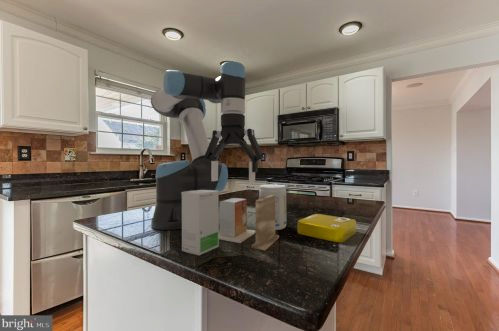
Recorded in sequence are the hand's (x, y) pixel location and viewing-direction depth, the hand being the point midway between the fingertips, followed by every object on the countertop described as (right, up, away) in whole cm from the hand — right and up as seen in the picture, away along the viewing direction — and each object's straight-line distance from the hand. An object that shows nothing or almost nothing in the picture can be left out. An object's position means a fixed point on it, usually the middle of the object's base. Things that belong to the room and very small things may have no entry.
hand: (232, 182), depth 76 cm
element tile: (+31, -17, +3) cm, 35 cm away
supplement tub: (+14, -17, +9) cm, 23 cm away
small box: (0, -16, 0) cm, 16 cm away
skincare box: (-8, -17, -12) cm, 22 cm away
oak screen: (+10, -17, -7) cm, 21 cm away
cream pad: (0, -17, 0) cm, 17 cm away
